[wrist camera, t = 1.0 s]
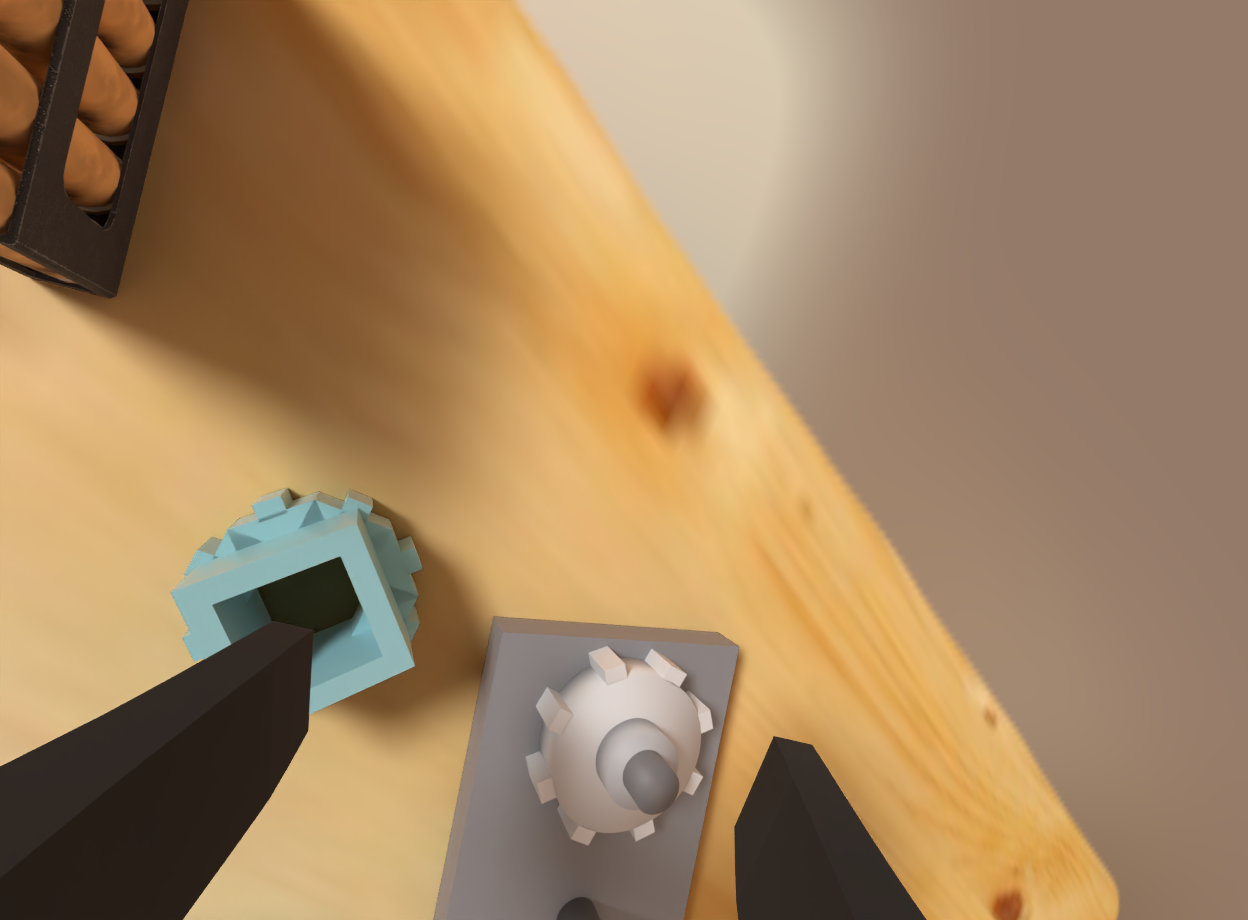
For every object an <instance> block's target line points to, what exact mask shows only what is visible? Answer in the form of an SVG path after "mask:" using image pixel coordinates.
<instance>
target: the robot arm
mask: <svg viewBox="0 0 1248 920" xmlns="http://www.w3.org/2000/svg"><path fill="white" fill-rule="evenodd" d="M313 633H314V630H312V629H308V628H304V627H299V626H295V625H291V624H286V623H282V622H278V621H272V622H271V623H269V624H267V625H265V626H263V627H261V628H260V629H258V630H256V631H254V632H252V633H251V634H249V635H247V636H245V637H243V638H242V639H240V640H238V641H236V642H234V643H233V644H231V645H229V646H227V647H225V648H224V649H222V650H220V651H218V652H217V653H215V654H213V655H211V656H209V657H208V658H206V659H204V660H202V661H201V662H199V663H197V664H195V665H193V666H192V667H190V668H188V669H186V670H185V671H183V672H181V673H179V674H177V675H176V676H174V677H172V678H170V679H168V680H167V681H165V682H163V683H161V684H159V685H157V686H156V687H154V688H152V689H150V690H148V691H146V692H144V693H143V694H141V695H139V696H137V697H135V698H133V699H132V700H130V701H128V702H126V703H124V704H122V705H121V706H119V707H117V708H115V709H113V710H111V711H109V712H108V713H106V714H104V715H102V716H100V717H98V718H96V719H94V720H92V721H90V722H88V723H86V724H84V725H82V726H80V727H78V728H76V729H74V730H72V731H70V732H68V733H66V734H64V735H62V736H60V737H58V738H56V739H54V740H52V741H50V742H48V743H46V744H44V745H42V746H40V747H38V748H36V749H34V750H32V751H30V752H28V753H26V754H24V755H22V756H20V757H19V758H17V759H15V760H13V761H11V762H9V763H6V764H4V765H2V766H0V920H183V919H184V917H185V916H186V914H187V913H188V912H189V910H190V909H191V908H192V906H193V905H194V903H195V902H196V901H197V899H198V898H199V896H200V895H201V894H202V892H203V891H204V890H205V888H206V887H207V885H208V884H209V883H210V881H211V880H212V878H213V877H214V876H215V874H216V873H217V872H218V870H219V869H220V867H221V866H222V865H223V863H224V862H225V861H226V859H227V858H228V856H229V855H230V854H231V852H232V851H233V849H234V848H235V847H236V845H237V844H238V842H239V841H240V840H241V838H242V837H243V835H244V834H245V833H246V831H247V830H248V828H249V827H250V826H251V824H252V823H253V821H254V820H255V819H256V817H257V816H258V814H259V813H260V811H261V810H262V809H263V807H264V806H265V804H266V803H267V801H268V800H269V799H270V797H271V795H272V794H273V792H274V790H275V788H276V787H277V785H278V783H279V782H280V780H281V778H282V776H283V775H284V773H285V771H286V770H287V768H288V766H289V764H290V763H291V761H292V759H293V757H294V755H295V754H296V752H297V750H298V748H299V746H300V745H301V743H302V741H303V739H304V737H305V736H306V734H307V732H308V725H309V706H310V688H311V670H312V651H313ZM734 828H735V877H736V902H737V911H738V919H739V920H926V918H925V917H924V916H923V914H922V913H921V911H920V910H919V908H918V907H917V905H916V904H915V903H914V901H913V900H912V898H911V897H910V895H909V894H908V892H907V891H906V889H905V888H904V886H903V885H902V883H901V882H900V881H899V879H898V878H897V876H896V875H895V873H894V871H893V870H892V868H891V867H890V865H889V864H888V862H887V861H886V859H885V858H884V856H883V855H882V853H881V852H880V850H879V849H878V847H877V846H876V844H875V843H874V841H873V840H872V838H871V836H870V835H869V833H868V832H867V830H866V829H865V827H864V826H863V824H862V822H861V821H860V819H859V818H858V816H857V815H856V813H855V811H854V810H853V808H852V807H851V805H850V804H849V802H848V800H847V799H846V797H845V796H844V794H843V792H842V791H841V789H840V788H839V786H838V785H837V783H836V781H835V780H834V778H833V777H832V775H831V773H830V772H829V770H828V769H827V767H826V766H825V764H824V762H823V761H822V759H821V758H820V756H819V755H818V753H817V752H816V750H815V749H814V747H813V746H812V745H810V744H806V743H801V742H797V741H793V740H788V739H784V738H780V737H775V736H774V737H773V740H772V742H771V744H770V746H769V749H768V751H767V753H766V756H765V758H764V760H763V763H762V765H761V767H760V769H759V772H758V774H757V776H756V779H755V781H754V783H753V786H752V788H751V790H750V793H749V795H748V797H747V799H746V802H745V804H744V806H743V809H742V811H741V813H740V816H739V818H738V820H737V822H736V825H735V827H734Z"/></svg>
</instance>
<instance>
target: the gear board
mask: <svg viewBox="0 0 1248 920" xmlns="http://www.w3.org/2000/svg"><path fill="white" fill-rule="evenodd" d="M738 651H739V646H738V645H736V644H735V643H733V642H732V641H730V640H729V639H727V638H726V637H724V636H723V635H721V634H720V633H718V632H705V631H691V630H677V629H663V628H649V627H635V626H621V625H607V624H593V623H578V622H564V621H550V620H536V619H522V618H508V617H493V622H492V627H491V632H490V637H489V642H488V647H487V652H486V657H485V662H484V667H483V672H482V678H481V683H480V688H479V693H478V698H477V703H476V708H475V713H474V718H473V723H472V728H471V733H470V738H469V743H468V748H467V753H466V759H465V764H464V769H463V774H462V779H461V784H460V789H459V794H458V799H457V804H456V809H455V814H454V819H453V824H452V829H451V834H450V839H449V845H448V850H447V855H446V860H445V865H444V870H443V875H442V880H441V885H440V890H439V895H438V900H437V905H436V910H435V915H434V920H684V915H685V910H686V905H687V901H688V896H689V891H690V886H691V881H692V876H693V871H694V866H695V861H696V857H697V852H698V847H699V842H700V837H701V832H702V827H703V822H704V817H705V813H706V808H707V803H708V798H709V793H710V788H711V783H712V778H713V773H714V769H715V764H716V759H717V754H718V749H719V744H720V739H721V734H722V729H723V725H724V720H725V715H726V710H727V705H728V700H729V695H730V690H731V686H732V681H733V676H734V671H735V666H736V661H737V656H738Z"/></svg>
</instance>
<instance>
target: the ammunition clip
mask: <svg viewBox="0 0 1248 920" xmlns="http://www.w3.org/2000/svg"><path fill="white" fill-rule="evenodd" d="M188 1H189V0H0V264H1V265H3V266H5V267H7V268H9V269H12V270H14V271H16V272H18V273H20V274H22V275H24V276H27V277H31V278H34V279H38V280H42V281H46V282H50V283H53V284H57V285H61V286H65V287H69V288H72V289H76V290H80V291H84V292H88V293H91V294H95V295H99V296H103V297H107V298H112V297H115V296H117V291H118V287H119V283H120V279H121V275H122V271H123V267H124V263H125V259H126V255H127V250H128V246H129V242H130V238H131V234H132V230H133V226H134V222H135V218H136V214H137V209H138V205H139V201H140V197H141V193H142V189H143V185H144V181H145V177H146V173H147V169H148V164H149V160H150V156H151V152H152V148H153V144H154V140H155V136H156V132H157V128H158V123H159V119H160V115H161V111H162V107H163V103H164V99H165V95H166V91H167V87H168V82H169V78H170V74H171V70H172V66H173V62H174V58H175V54H176V50H177V46H178V42H179V37H180V33H181V29H182V25H183V21H184V17H185V13H186V9H187V5H188ZM1 161H2V162H1Z"/></svg>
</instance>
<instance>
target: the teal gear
mask: <svg viewBox="0 0 1248 920" xmlns="http://www.w3.org/2000/svg"><path fill="white" fill-rule="evenodd" d="M252 507H253V509H254V512H255V514H252V515H249V516H246V517H243V518H239V519H238V520H237V521H236V522H235V523H234V524H233V525H232V526H231V527H230V528H229V529H227V532H226V534H225V536H224V538H223V540H220V539H217V538H214V537H211V538H210V539H209V540H208V541H207V542H205V543H204V544H203V545H202V546H201V547H200V548H199V549H198V550H197V551H196V553H195V555H194V557H193V559H192V561H191V563H190V565H189V566H188V568H187V570H186V572H185V574H184V575H186V577H185V578H184V579H183V580H182V581H181V582H180V583H179V584H178V585H177V586H176V587H175V588H174V589H173V590H172V591H171V594H172V596H173V598H174V601H175V603H176V605H177V607H178V609H179V611H180V613H181V615H182V617H183V619H184V621H185V623H186V625H187V627H188V629H189V630H188V631H187V632H186V634H185V635H184V636H183V640H184V642H185V644H186V646H187V648H188V650H189V652H190V654H191V657H192V659H193V661H197V660H199V659H202V658H203V659H206V658H208V657H209V656H211V655H213V654H215V653H217V652H218V651H220V650H222V649H224V648H225V647H227V646H229V645H231V644H233V643H234V642H236V641H238V640H240V639H242V638H243V637H245V636H247V635H249V634H251V633H252V632H254V631H256V630H258V629H260V628H261V627H263V626H265V625H267V624H269V623H271V622H272V620H271V617H270V615H269V613H268V611H267V609H266V607H265V604H264V602H263V600H262V598H261V596H260V594H259V591H258V589H257V588H258V587H260V586H263V585H266V584H268V583H271V582H274V581H276V580H279V579H281V578H284V577H287V576H289V575H292V574H295V573H297V572H300V571H302V570H305V569H308V568H310V567H313V566H316V565H318V564H321V563H324V562H326V561H329V560H331V559H334V558H337V557H339V556H340V557H341V558H342V561H343V563H344V566H345V568H346V570H347V573H348V575H349V577H350V580H351V582H352V584H353V587H354V589H355V592H356V594H357V596H358V599H359V601H360V604H359V606H358V608H357V610H356V612H355V614H354V616H353V618H350V619H348V620H346V621H343V622H341V623H338V624H336V625H334V626H331V627H329V628H326V629H324V630H322V631H319V632H317V633H314V634H313V651H312V670H311V688H310V706H309V714H312V713H314V712H316V711H318V710H320V709H323V708H325V707H327V706H329V705H331V704H334V703H336V702H338V701H340V700H342V699H344V698H347V697H349V696H351V695H353V694H355V693H358V692H360V691H362V690H364V689H366V688H368V687H371V686H373V685H375V684H377V683H379V682H382V681H384V680H386V679H388V678H390V677H392V676H395V675H397V674H399V673H401V672H403V671H406V670H408V669H410V668H412V667H414V666H415V663H414V658H413V653H412V647H411V641H412V639H413V637H414V635H415V633H416V631H417V629H418V627H419V625H420V622H419V618H418V614H417V610H416V607H415V606H414V604H415V602H416V600H417V598H418V592H417V588H416V585H415V581H414V580H413V577H412V575H411V573H414V572H416V571H419V570H421V569H423V568H422V565H421V562H420V559H419V556H418V553H417V550H416V548H415V545H414V543H413V540H412V538H411V536H409V537H406V538H404V539H401V540H398V539H397V537H396V534H395V532H394V529H393V527H392V524H391V521H390V519H387V518H385V517H382V516H380V515H377V514H375V513H372V512H371V510H372V508H373V499H372V498H370V497H368V496H365V495H363V494H361V493H358V492H356V491H353V490H351V489H349V491H348V493H347V495H346V497H345V499H344V501H342V500H339V499H337V498H334V497H332V496H329V495H327V494H324V493H321V492H320V491H318V492H316V493H313V494H310V495H307V496H304V497H301V498H298V499H296V500H292V497H291V495H290V493H289V490H288V488H285V489H282V490H279V491H276V492H273V493H270V494H267V495H264V496H261V497H260V498H259V499H258V500H257V501H256V502H255V503H254V504H253V505H252Z"/></svg>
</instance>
